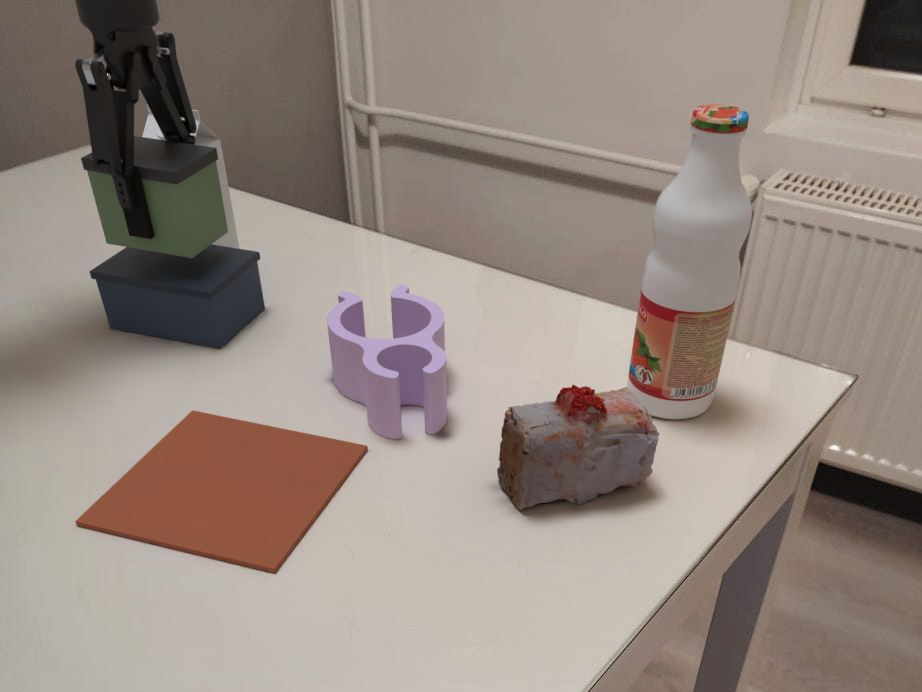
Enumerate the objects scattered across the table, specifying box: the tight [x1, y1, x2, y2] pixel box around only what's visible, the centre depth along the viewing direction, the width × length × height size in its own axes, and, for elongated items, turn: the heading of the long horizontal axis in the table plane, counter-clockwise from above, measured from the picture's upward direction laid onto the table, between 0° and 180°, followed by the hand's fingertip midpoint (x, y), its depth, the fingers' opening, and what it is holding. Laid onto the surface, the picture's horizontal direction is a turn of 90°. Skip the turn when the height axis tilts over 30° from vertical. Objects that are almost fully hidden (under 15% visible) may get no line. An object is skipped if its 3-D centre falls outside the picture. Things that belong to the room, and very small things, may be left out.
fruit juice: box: [626, 103, 753, 420], centre depth 88 cm, size 9×9×28 cm
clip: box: [326, 284, 448, 441], centre depth 96 cm, size 20×12×7 cm, turn 16°
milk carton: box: [141, 103, 241, 249], centre depth 114 cm, size 7×7×19 cm
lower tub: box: [89, 244, 266, 349], centre depth 107 cm, size 16×12×7 cm
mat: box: [74, 410, 369, 574], centre depth 86 cm, size 20×20×1 cm
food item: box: [496, 384, 660, 511], centre depth 83 cm, size 14×8×10 cm, turn 110°
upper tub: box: [80, 135, 228, 258], centre depth 100 cm, size 11×8×9 cm
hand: (164, 221), depth 102 cm, fingers closed on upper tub, 8 cm apart
